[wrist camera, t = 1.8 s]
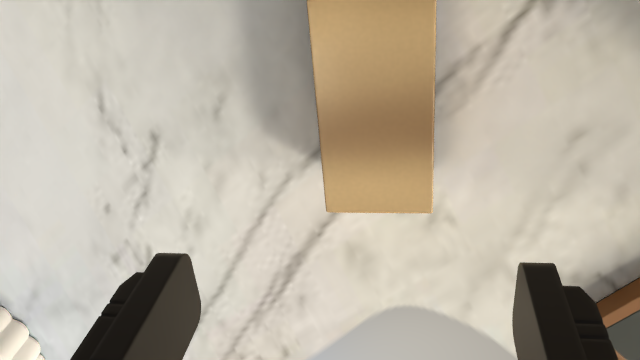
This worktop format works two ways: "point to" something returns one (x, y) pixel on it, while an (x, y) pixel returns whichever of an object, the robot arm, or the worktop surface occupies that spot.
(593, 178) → the worktop surface
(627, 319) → the chalkboard
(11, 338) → the mooncake
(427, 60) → the eraser
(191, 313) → the robot arm
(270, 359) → the worktop surface
